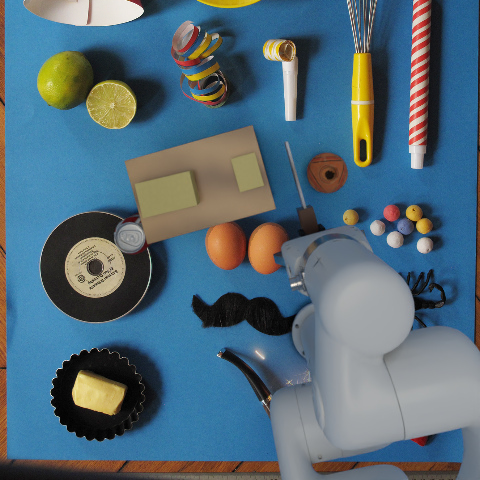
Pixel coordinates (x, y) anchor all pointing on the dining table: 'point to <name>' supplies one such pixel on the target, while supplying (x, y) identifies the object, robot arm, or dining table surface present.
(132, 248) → the soda can
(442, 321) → the dining table surface
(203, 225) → the cutting board
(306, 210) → the knife
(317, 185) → the pot
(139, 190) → the butter block
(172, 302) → the dining table surface
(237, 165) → the butter slice
